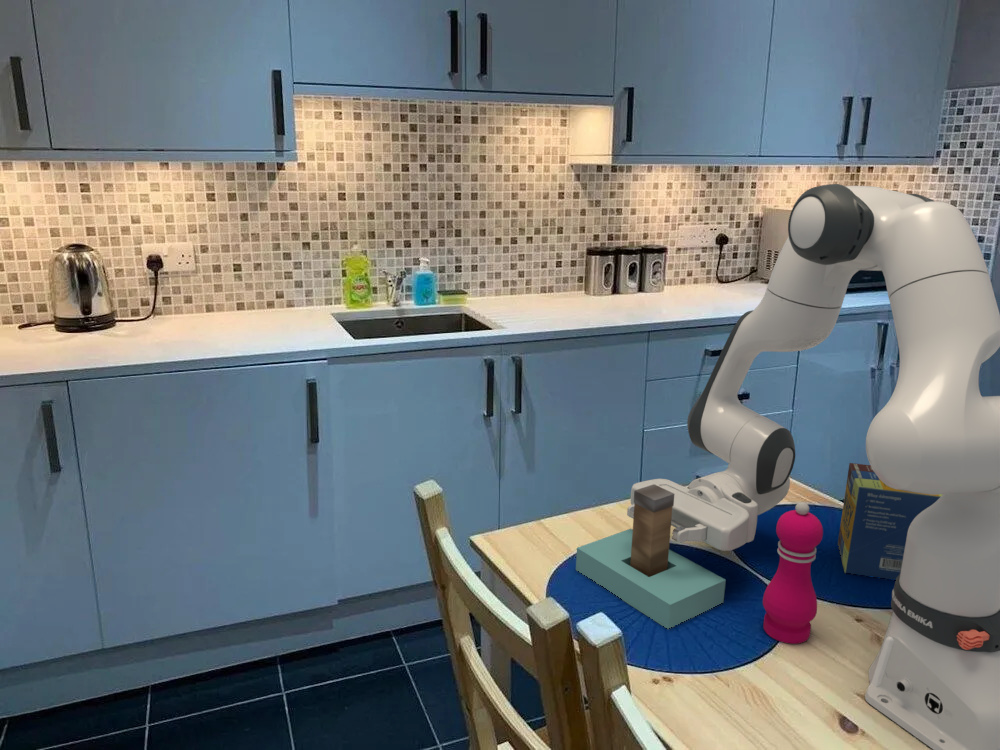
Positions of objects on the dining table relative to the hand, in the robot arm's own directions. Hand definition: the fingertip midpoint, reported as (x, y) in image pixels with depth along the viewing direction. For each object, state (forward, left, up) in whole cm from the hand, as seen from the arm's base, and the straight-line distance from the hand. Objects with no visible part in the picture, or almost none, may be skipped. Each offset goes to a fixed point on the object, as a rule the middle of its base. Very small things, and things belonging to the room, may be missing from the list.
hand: (652, 524), depth 122 cm
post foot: (0, 0, -10) cm, 11 cm away
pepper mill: (-16, -14, -11) cm, 24 cm away
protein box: (-4, -42, -11) cm, 43 cm away
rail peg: (0, 0, -10) cm, 11 cm away
